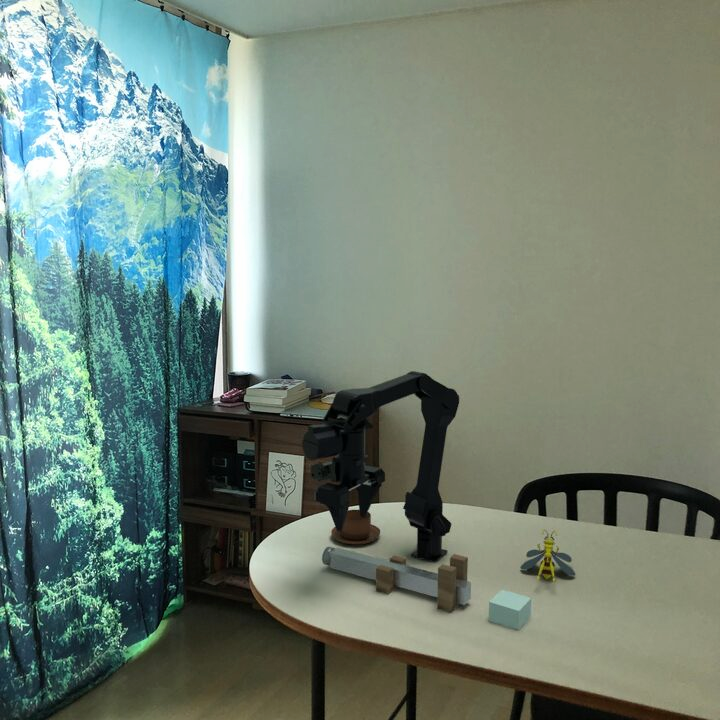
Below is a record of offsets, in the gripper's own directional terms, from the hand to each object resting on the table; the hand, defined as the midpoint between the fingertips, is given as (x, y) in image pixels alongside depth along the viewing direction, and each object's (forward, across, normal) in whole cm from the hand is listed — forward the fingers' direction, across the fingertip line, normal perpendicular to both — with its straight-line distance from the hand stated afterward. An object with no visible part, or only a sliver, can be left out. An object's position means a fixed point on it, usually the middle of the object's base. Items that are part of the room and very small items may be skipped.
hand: (351, 523), depth 149 cm
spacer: (+9, -3, +34) cm, 35 cm away
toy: (+13, -24, +35) cm, 44 cm away
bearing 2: (+13, -3, +22) cm, 26 cm away
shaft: (+12, -3, +8) cm, 15 cm away
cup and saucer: (+13, -20, -12) cm, 27 cm away
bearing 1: (+13, -3, +8) cm, 16 cm away
